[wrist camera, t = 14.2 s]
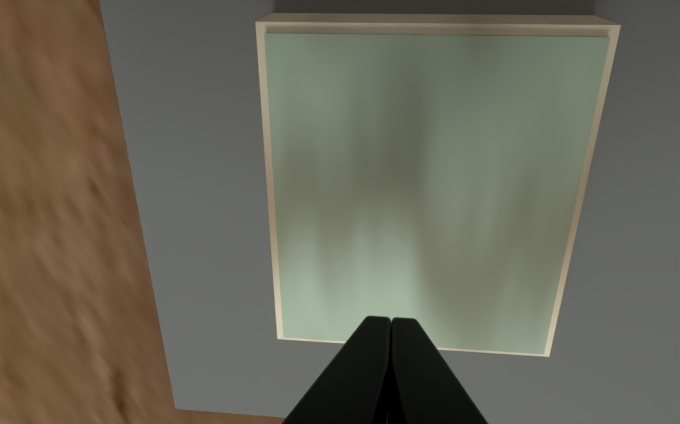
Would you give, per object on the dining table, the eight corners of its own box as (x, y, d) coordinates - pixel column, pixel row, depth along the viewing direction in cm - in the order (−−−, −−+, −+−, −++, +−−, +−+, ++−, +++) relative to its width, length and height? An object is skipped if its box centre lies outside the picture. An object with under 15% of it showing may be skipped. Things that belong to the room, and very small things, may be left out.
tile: (550, 361, 14) (276, 343, 14) (535, 317, 15) (288, 303, 16) (624, 26, 10) (253, 22, 11) (594, 15, 12) (272, 12, 12)
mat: (1011, -179, 10) (1046, -186, 9) (733, 438, 17) (743, 454, 16) (84, -159, 12) (68, -164, 11) (182, 395, 19) (175, 409, 18)
